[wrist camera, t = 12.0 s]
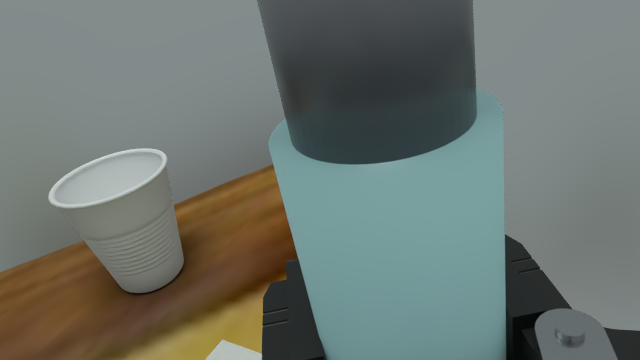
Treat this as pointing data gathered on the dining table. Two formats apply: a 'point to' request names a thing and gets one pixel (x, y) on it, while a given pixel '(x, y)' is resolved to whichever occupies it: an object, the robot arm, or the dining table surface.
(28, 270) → the dining table surface
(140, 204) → the cup
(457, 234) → the plug
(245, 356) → the panel
